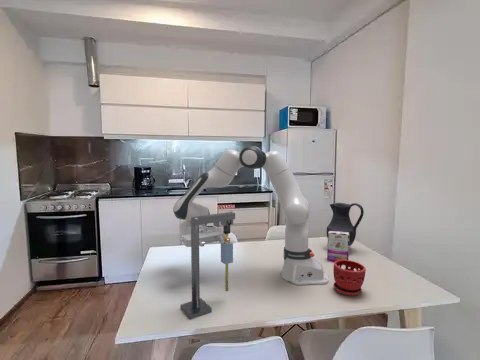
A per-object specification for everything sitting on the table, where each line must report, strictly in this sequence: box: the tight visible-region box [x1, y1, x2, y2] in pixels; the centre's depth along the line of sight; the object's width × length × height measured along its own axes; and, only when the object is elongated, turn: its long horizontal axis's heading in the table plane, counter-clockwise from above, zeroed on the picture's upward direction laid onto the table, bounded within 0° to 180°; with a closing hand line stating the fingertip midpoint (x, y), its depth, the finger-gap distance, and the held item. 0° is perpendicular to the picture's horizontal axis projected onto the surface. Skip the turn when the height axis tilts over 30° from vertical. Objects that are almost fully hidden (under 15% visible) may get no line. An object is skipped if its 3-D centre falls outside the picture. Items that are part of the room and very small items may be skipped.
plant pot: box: [332, 260, 367, 296], centre depth 130 cm, size 13×13×12 cm
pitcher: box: [326, 202, 364, 248], centre depth 179 cm, size 17×21×30 cm
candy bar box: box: [326, 231, 350, 263], centre depth 164 cm, size 11×5×16 cm, turn 68°
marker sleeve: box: [220, 241, 234, 265], centre depth 120 cm, size 4×4×8 cm
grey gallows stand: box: [179, 211, 236, 320], centre depth 116 cm, size 22×9×36 cm, turn 124°
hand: (212, 242), depth 129 cm, fingers open, 8 cm apart
